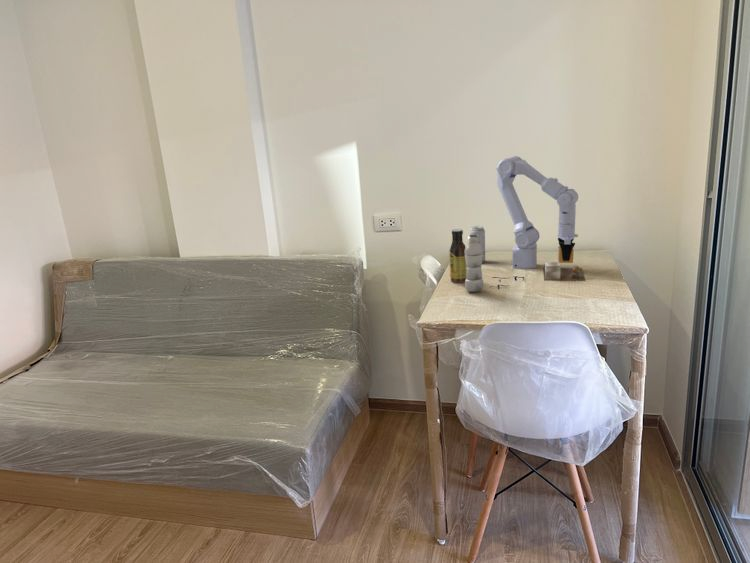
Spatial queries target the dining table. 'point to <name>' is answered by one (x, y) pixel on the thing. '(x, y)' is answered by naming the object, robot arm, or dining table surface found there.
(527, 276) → the dining table surface
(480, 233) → the energy drink can
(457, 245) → the sauce bottle
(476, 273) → the plastic bottle
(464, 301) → the dining table surface
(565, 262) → the kraft paper cube
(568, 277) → the board
